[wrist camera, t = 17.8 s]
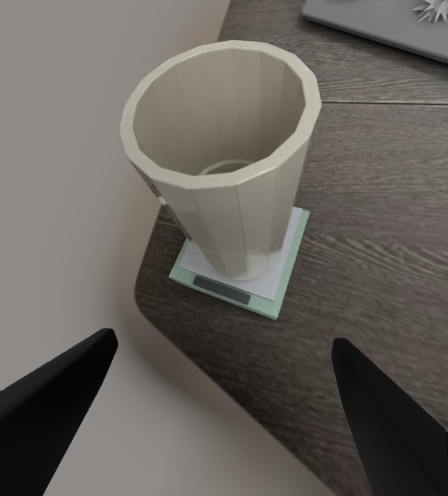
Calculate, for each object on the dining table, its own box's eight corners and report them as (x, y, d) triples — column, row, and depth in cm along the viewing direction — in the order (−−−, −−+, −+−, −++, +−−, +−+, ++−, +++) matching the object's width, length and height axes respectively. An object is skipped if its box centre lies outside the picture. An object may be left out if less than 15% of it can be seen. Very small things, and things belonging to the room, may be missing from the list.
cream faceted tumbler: (300, 240, 19) (366, 82, 7) (243, 300, 18) (210, 231, 6) (240, 194, 22) (216, 21, 10) (187, 245, 21) (85, 120, 9)
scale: (275, 320, 20) (278, 317, 17) (177, 282, 23) (165, 275, 20) (305, 223, 23) (311, 207, 20) (214, 199, 26) (209, 182, 23)
